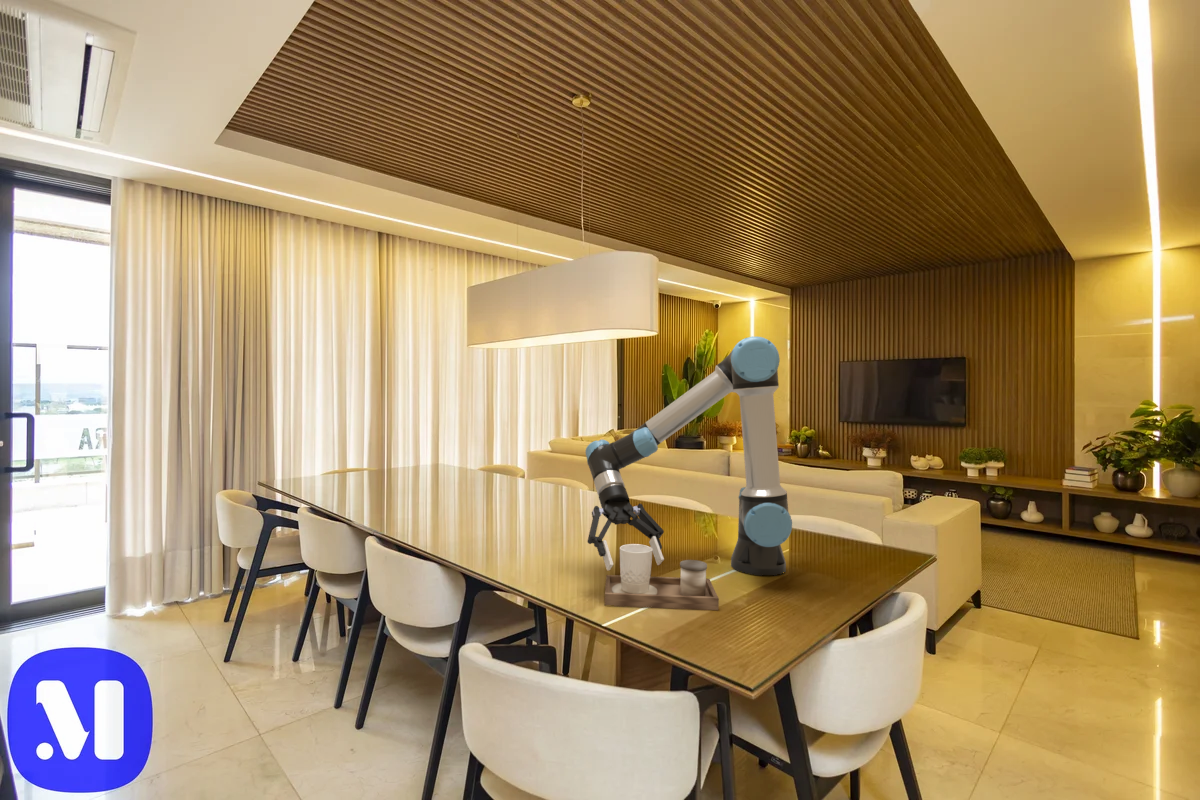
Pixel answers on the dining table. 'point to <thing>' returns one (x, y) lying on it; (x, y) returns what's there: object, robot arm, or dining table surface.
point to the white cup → (635, 568)
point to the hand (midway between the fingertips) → (636, 565)
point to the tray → (668, 590)
